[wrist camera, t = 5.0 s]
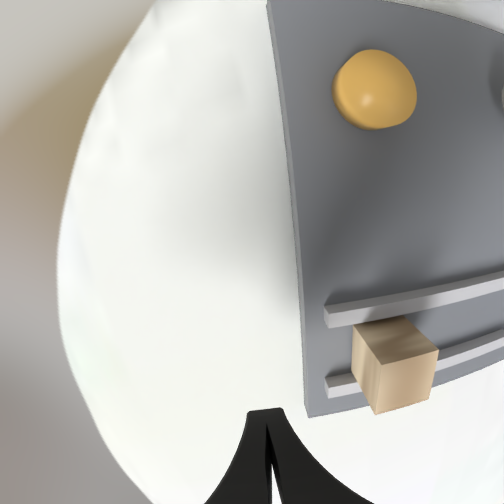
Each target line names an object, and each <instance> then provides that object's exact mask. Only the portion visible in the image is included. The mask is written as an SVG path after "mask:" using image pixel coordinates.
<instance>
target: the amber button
mask: <svg viewBox="0 0 504 504" xmlns="http://www.w3.org/2000/svg"><path fill="white" fill-rule="evenodd" d="M331 91H332V98H333V101H334V104H335V106H336V108H337V110H338V111H339V113H340V114H341V115H342V117H343V118H344V119H345V120H347V121H348V122H349V123H350V124H352V125H354V126H356V127H358V128H360V129H364V130H379V129H383V128H387V127H391V126H395V125H398V124H401V123H402V122H404V121H406V120H407V119H408V118H409V117H410V116H411V114H412V113H413V111H414V109H415V106H416V101H417V91H416V86H415V82H414V80H413V77H412V75H411V74H410V72H409V70H408V69H407V68H406V66H405V65H404V64H403V63H402V62H401V61H400V60H398V59H397V58H396V57H394V56H393V55H391V54H389V53H387V52H384V51H380V50H372V49H370V50H364V51H361V52H358V53H357V54H355V55H354V56H353V57H351V58H350V59H349V60H348V61H347V62H346V63H345V64H344V65H343V66H342V67H341V68H340V69H339V70H338V71H337V72H336V74H335V76H334V78H333V81H332V89H331Z"/></svg>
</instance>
